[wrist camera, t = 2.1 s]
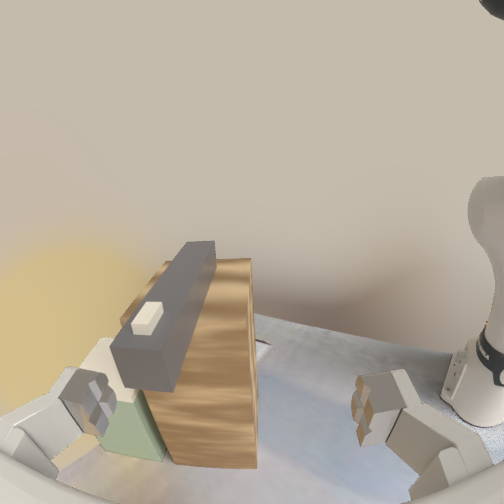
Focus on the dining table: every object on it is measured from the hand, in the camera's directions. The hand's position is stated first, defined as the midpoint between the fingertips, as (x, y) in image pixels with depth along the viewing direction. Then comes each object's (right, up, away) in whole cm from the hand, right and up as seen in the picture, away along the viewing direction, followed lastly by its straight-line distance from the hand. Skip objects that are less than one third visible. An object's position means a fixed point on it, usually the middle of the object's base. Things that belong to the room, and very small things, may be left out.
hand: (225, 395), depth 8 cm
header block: (-17, -25, +31) cm, 44 cm away
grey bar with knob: (-6, -1, +19) cm, 20 cm away
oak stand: (-4, -24, +33) cm, 41 cm away
